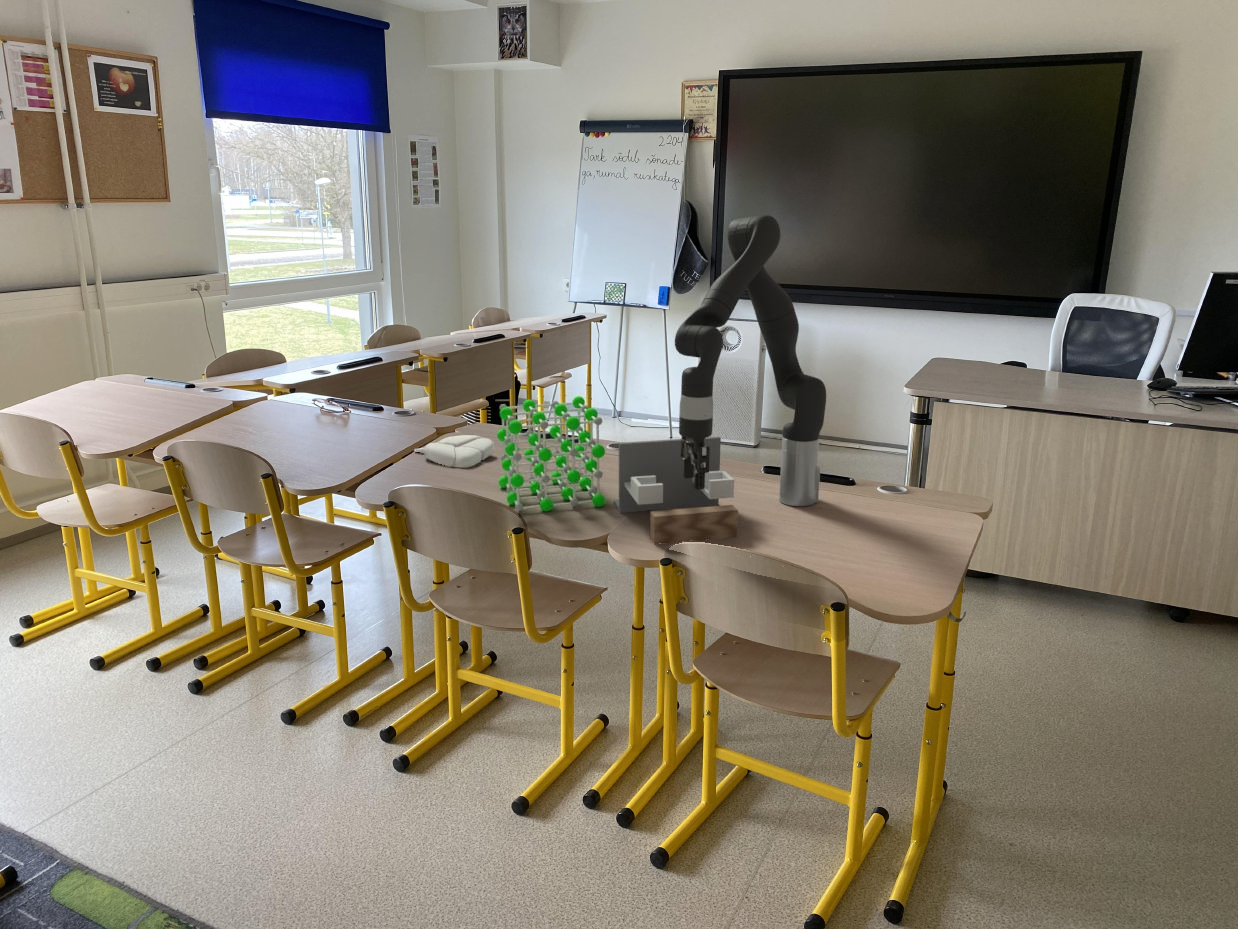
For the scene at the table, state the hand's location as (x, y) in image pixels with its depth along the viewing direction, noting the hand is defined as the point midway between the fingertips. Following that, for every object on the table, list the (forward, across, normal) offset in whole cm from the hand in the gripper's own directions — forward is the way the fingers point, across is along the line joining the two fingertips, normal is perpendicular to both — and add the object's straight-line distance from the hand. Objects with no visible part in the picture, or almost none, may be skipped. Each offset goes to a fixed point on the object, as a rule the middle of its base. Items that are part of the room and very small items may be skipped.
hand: (693, 483), depth 210 cm
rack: (+13, +17, 0) cm, 21 cm away
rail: (+14, 0, 0) cm, 14 cm away
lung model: (+14, +80, +53) cm, 97 cm away
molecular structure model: (+14, +37, +28) cm, 48 cm away
